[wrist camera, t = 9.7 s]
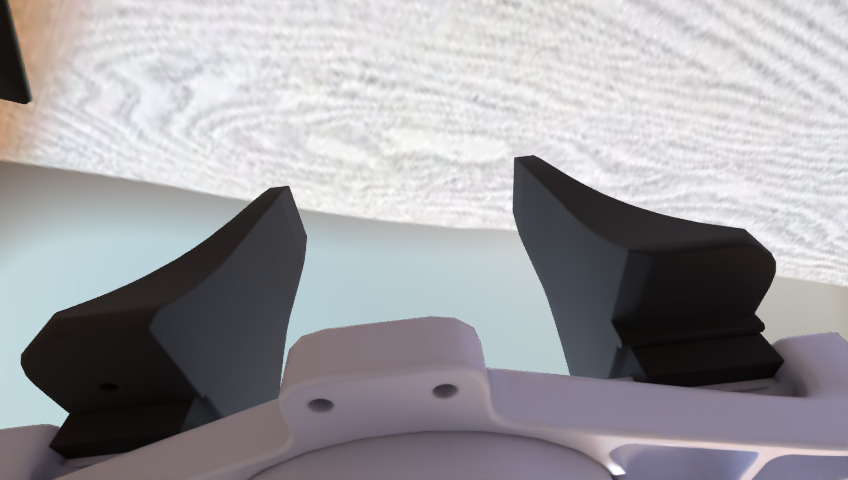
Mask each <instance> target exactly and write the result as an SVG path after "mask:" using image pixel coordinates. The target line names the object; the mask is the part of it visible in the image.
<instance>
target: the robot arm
mask: <svg viewBox="0 0 848 480" xmlns="http://www.w3.org/2000/svg"><path fill="white" fill-rule="evenodd" d="M513 214H514V218H515V222H516V225H517V229H518V232H519V235H520V238H521V240H522V242H523V245H524V246H525V249H526V251H527V253H528V255H529V258H530V260H531V262H532V264H533V266H534V269H535V271H536V273H537V275H538V277H539V279H540V281H541V284H542V286H543V288H544V291H545V293H546V296H547V299H548V302H549V305H550V308H551V311H552V314H553V317H554V320H555V324H556V327H557V330H558V334H559V337H560V341H561V344H562V347H563V351H564V354H565V358H566V362H567V365H568V369H569V373H570V376H569V375H558V374H548V373H537V372H528V371H518V370H508V369H507V370H506V369H497V368H487V367H486V365H485V360H484V355H483V351H482V346H481V342H480V339H479V337H478V335H477V334H476V331H475V329H474V328H473V327H471V326H470V325H468V324H466V323H464V322H462V321H460V320H458V319H456V318H450V317H434V316H429V317H420V318H413V319H404V320H395V321H387V322H378V323H370V324H362V325H354V326H346V327H337V328H329V329H323V330H320V331H317V332H314V333H311V334H308V335H305V336H302V337H301V338H300V339H299V340H298V341H297V342H296V343H295V344H294V345H293V346H292V347H291V348H290V349H289V353H288V357H287V361H286V366H285V370H284V374H283V379H282V383H281V387H280V382H281V373H282V364H283V355H284V348H285V341H286V334H287V328H288V323H289V318H290V314H291V311H292V307H293V303H294V300H295V296H296V292H297V289H298V285H299V281H300V277H301V273H302V270H303V265H304V260H305V252H306V241H307V235H306V233H305V230H304V227H303V224H302V221H301V218H300V216H299V213H298V210H297V207H296V204H295V201H294V199H293V196H292V193H291V190H290V187H289V186H283V187H275V188H270V189H268V190H266V191H265V192H264V193H262V194H261V195H260V196H259V197H258V198H256V199H255V200H254V201H253V202H252V203H250V204H249V205H248V206H247V207H246V208H245V209H243V210H242V211H241V212H240V213H239V214H238V215H236V216H235V217H234V218H233V219H232V220H231V221H230V222H228V223H227V224H225V225H224V226H223V227H222V228H220V229H219V230H218V231H216V232H215V233H214V234H213V235H211V236H210V237H209V238H207V239H206V240H205V241H203V242H202V243H200V244H199V245H198V246H196V247H195V248H193V249H192V250H190V251H188V252H187V253H185V254H184V255H182V256H181V257H179V258H178V259H176V260H174V261H172V262H170V263H169V264H167V265H165V266H163V267H161V268H159V269H158V270H156V271H154V272H152V273H150V274H148V275H146V276H145V277H143V278H140V279H138V280H136V281H134V282H132V283H130V284H128V285H126V286H123V287H121V288H118V289H116V290H114V291H112V292H110V293H107V294H104V295H102V296H100V297H97V298H94V299H92V300H89V301H86V302H84V303H81V304H78V305H76V306H73V307H70V308H68V309H65V310H62V311H59V312H56V313H55V314H54V315H53V316H52V317H51V319H50V320H49V321H48V322H47V324H46V325H45V326H44V327H43V328H42V330H41V331H40V332H39V333H38V335H37V336H36V337H35V338H34V339H33V341H32V342H31V343H30V344H29V345H28V347H27V348H26V349H25V350H24V352H23V353H22V354H21V366H22V368H23V370H24V372H25V374H26V376H27V377H28V378H29V379H30V381H32V383H33V384H34V385H36V386H37V387H38V388H39V389H40V390H41V391H43V392H44V393H45V394H46V395H47V396H49V397H50V398H51V399H52V400H53V401H55V402H56V403H57V404H58V405H60V406H61V407H62V408H63V409H64V410H66V411H67V412H68V413H70V414H69V416H68V417H67V419H66V420H65V422H64V423H63V425H62V426H61V427H59V426H54V425H50V424H41V425H32V426H23V427H14V428H6V429H1V430H0V480H848V342H847V341H846V340H845V339H844V338H842V337H841V336H840V335H839V334H838V333H836V332H827V333H818V334H809V335H801V336H792V337H787V338H783V339H780V340H778V341H776V342H774V343H772V344H771V345H770V344H769V343H768V341H767V340H766V339H765V338H764V337H763V336H762V335H761V333H760V332H763V331H764V329H765V325H764V323H763V322H762V321H761V320H760V319H759V318H758V317H757V316H756V314H755V312H756V310H757V308H758V306H759V305H760V303H761V301H762V299H763V298H764V296H765V294H766V293H767V291H768V289H769V287H770V285H771V283H772V281H773V278H774V276H775V273H776V261H775V259H774V257H773V255H772V254H771V252H770V251H768V250H767V249H766V248H765V247H764V246H763V245H762V244H761V243H759V242H758V241H757V240H756V239H755V238H754V237H753V236H752V235H751V234H749V233H748V232H747V231H746V230H745V229H741V228H734V227H727V226H719V225H712V224H705V223H699V222H694V221H689V220H684V219H680V218H675V217H671V216H667V215H663V214H659V213H655V212H652V211H649V210H645V209H642V208H639V207H636V206H633V205H630V204H627V203H624V202H622V201H619V200H617V199H614V198H612V197H609V196H607V195H605V194H602V193H600V192H598V191H596V190H594V189H592V188H590V187H588V186H586V185H584V184H582V183H581V182H579V181H577V180H575V179H573V178H572V177H570V176H568V175H566V174H565V173H563V172H561V171H560V170H558V169H557V168H555V167H553V166H552V165H550V164H548V163H547V162H545V161H544V160H542V159H540V158H538V157H536V156H534V155H531V156H523V157H515V158H514V185H513Z"/></svg>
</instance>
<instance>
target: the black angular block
mask: <svg viewBox="0 0 848 480" xmlns="http://www.w3.org/2000/svg"><path fill="white" fill-rule="evenodd" d="M0 99H4V100H8V101H12V102H17V103H21V104H27V103H29V102H31V101H32V95H31V91H30V87H29V82H28V78H27V74H26V70H25V66H24V62H23V58H22V54H21V50H20V46H19V42H18V37H17V33H16V29H15V25H14V21H13V17H12V13H11V9H10V5H9V1H8V0H0Z"/></svg>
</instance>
